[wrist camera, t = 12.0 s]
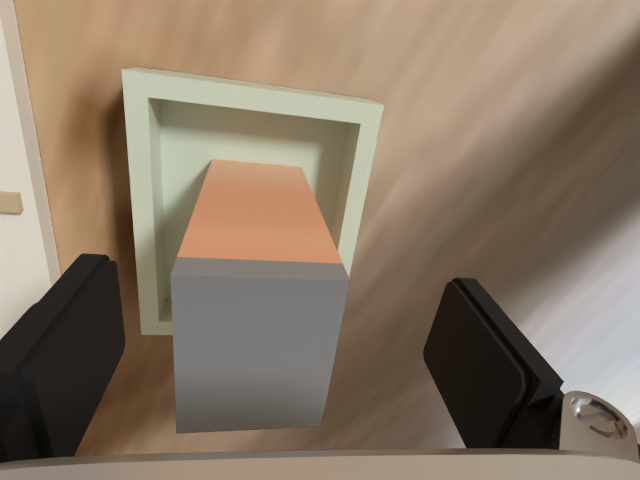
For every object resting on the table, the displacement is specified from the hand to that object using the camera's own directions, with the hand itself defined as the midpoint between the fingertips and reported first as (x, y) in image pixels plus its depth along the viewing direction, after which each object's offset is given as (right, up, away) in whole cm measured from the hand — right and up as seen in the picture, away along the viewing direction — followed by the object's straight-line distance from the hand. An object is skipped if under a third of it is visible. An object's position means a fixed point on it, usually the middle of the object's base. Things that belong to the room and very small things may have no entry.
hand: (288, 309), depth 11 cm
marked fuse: (-2, +3, +7) cm, 8 cm away
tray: (-3, +4, +8) cm, 9 cm away
